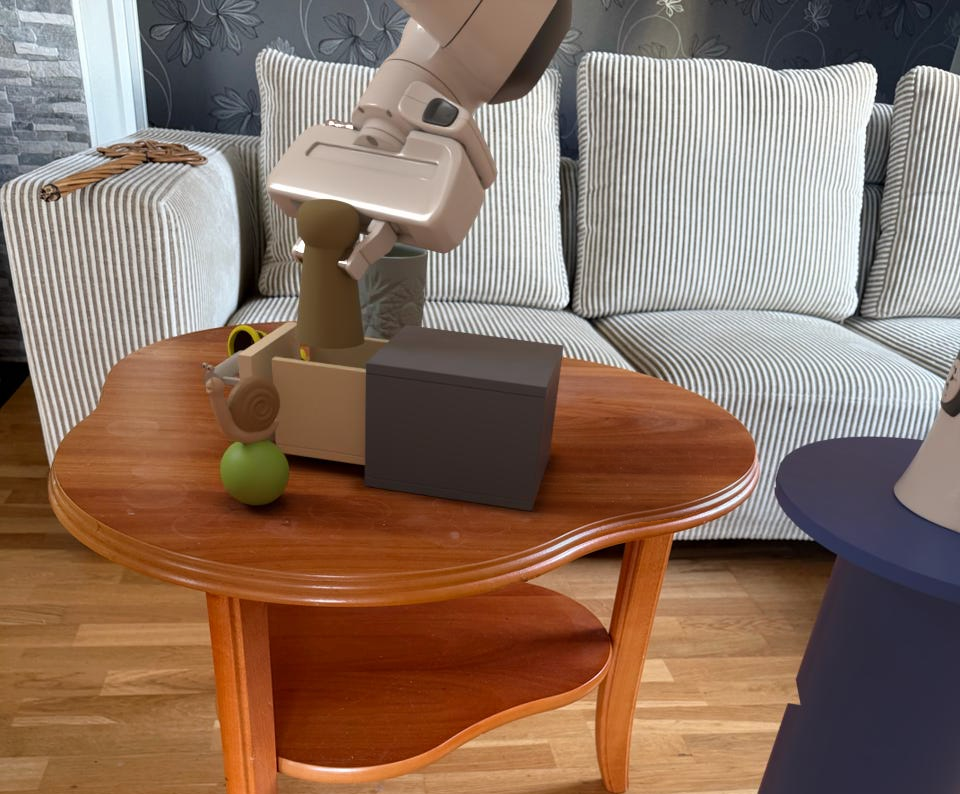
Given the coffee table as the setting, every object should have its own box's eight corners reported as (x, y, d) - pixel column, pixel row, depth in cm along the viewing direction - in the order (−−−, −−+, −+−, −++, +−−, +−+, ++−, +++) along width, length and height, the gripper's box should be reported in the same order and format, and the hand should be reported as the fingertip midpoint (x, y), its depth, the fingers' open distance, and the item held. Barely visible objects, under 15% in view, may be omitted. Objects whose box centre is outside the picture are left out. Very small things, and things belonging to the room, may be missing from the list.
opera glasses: (308, 392, 100) (314, 346, 98) (265, 389, 97) (271, 342, 94) (266, 367, 106) (271, 324, 104) (224, 364, 103) (229, 319, 100)
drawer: (197, 448, 80) (187, 347, 75) (249, 407, 90) (243, 315, 85) (393, 477, 78) (395, 376, 73) (424, 432, 88) (428, 339, 83)
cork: (330, 353, 75) (328, 209, 69) (280, 336, 78) (274, 196, 72) (379, 340, 79) (381, 204, 73) (330, 325, 82) (328, 192, 76)
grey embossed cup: (422, 365, 109) (426, 259, 102) (338, 358, 108) (337, 252, 102) (425, 341, 117) (429, 243, 111) (347, 336, 117) (347, 236, 110)
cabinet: (364, 486, 78) (365, 362, 73) (401, 436, 89) (405, 324, 83) (531, 511, 77) (546, 387, 71) (549, 457, 87) (563, 345, 82)
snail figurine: (199, 502, 73) (183, 354, 67) (264, 483, 77) (256, 341, 71) (238, 526, 70) (226, 374, 64) (304, 504, 74) (299, 359, 68)
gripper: (300, 89, 78) (218, 219, 77) (486, 115, 69) (397, 265, 67) (337, 146, 84) (261, 268, 83) (514, 177, 74) (432, 317, 73)
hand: (324, 267), depth 75 cm, fingers closed on cork, 4 cm apart
